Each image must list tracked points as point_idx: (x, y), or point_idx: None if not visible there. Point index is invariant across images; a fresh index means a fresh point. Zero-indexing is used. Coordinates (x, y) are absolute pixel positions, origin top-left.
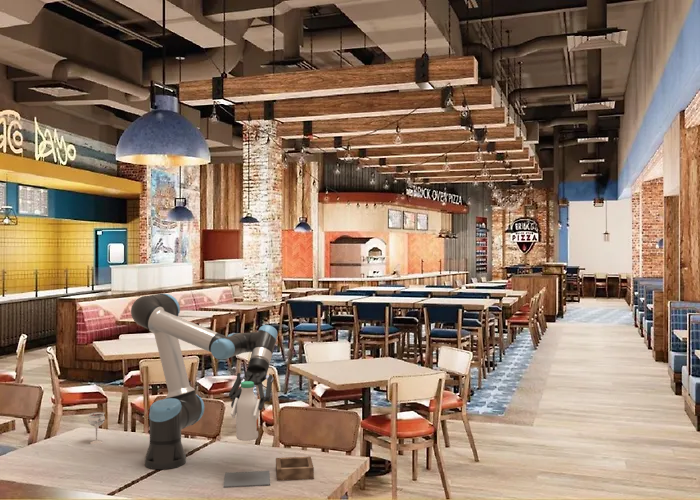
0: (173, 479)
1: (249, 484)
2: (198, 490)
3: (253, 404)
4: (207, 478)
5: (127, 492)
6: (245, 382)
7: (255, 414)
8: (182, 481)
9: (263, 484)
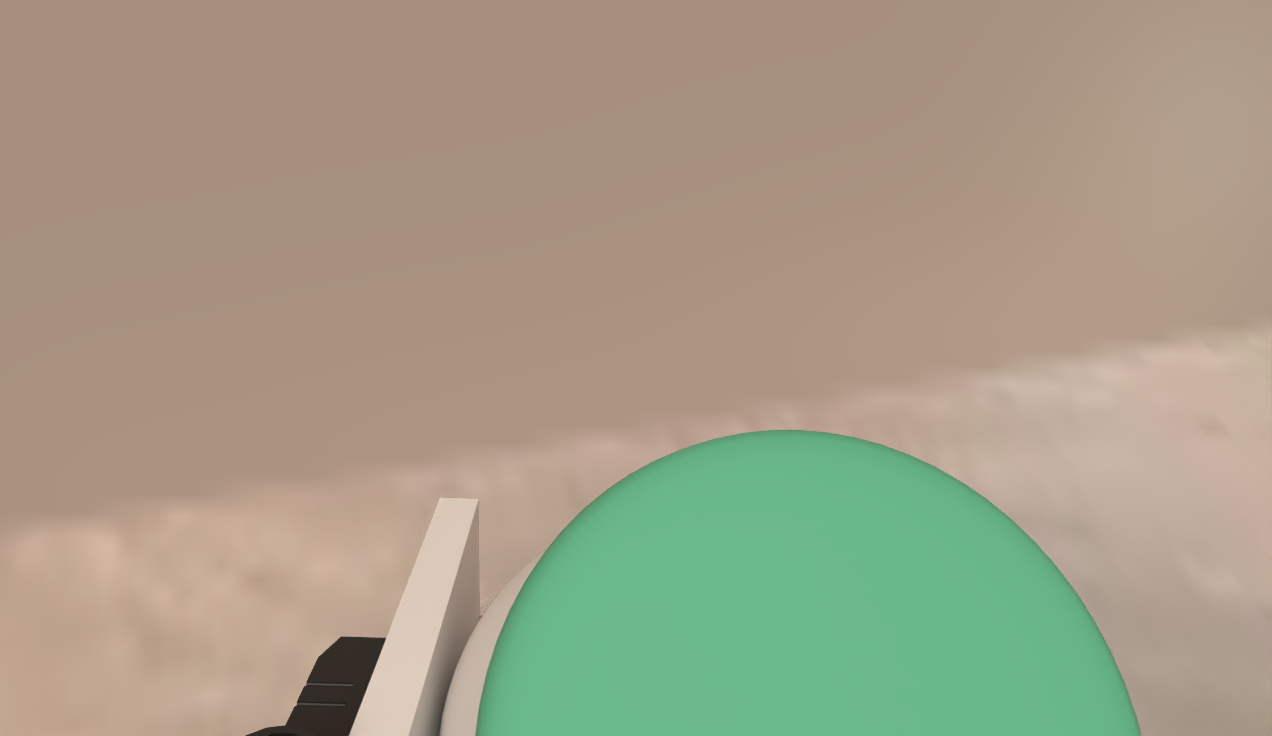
0: (1148, 633)
1: None
2: None
3: (494, 601)
4: None
5: (1250, 362)
6: (899, 655)
7: (438, 505)
8: None
9: None
